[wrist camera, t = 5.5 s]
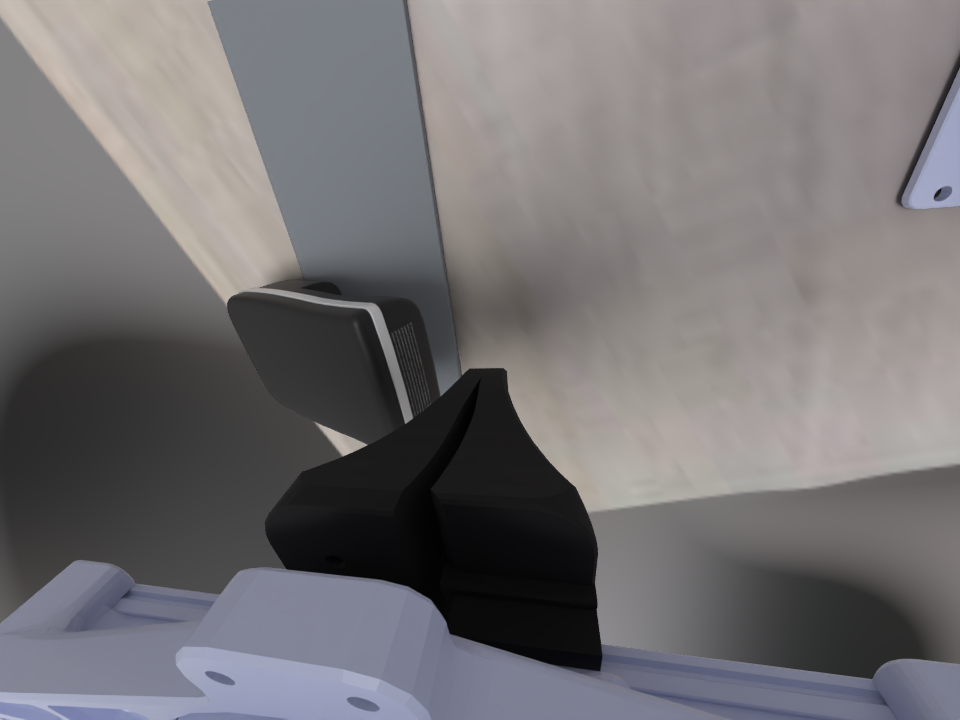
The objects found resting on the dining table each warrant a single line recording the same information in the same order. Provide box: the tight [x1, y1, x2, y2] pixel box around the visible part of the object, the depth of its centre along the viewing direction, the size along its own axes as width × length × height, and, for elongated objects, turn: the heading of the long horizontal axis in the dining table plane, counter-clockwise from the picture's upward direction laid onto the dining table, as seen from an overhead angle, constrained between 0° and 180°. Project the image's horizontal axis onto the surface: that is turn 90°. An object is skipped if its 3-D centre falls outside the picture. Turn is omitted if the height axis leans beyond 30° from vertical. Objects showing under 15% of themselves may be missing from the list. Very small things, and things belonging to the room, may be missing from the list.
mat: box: [208, 0, 461, 396], centre depth 18 cm, size 8×20×1 cm, turn 6°
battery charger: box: [227, 280, 441, 445], centre depth 17 cm, size 7×4×11 cm
